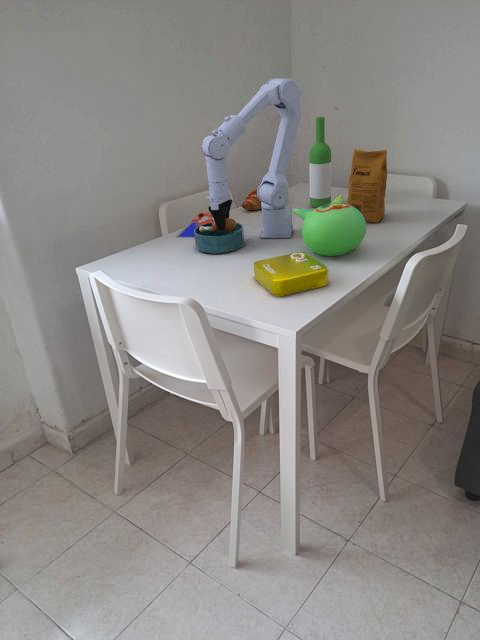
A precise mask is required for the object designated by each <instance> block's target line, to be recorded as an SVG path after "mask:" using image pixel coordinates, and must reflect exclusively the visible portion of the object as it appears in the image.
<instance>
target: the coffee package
mask: <svg viewBox="0 0 480 640" xmlns="http://www.w3.org/2000/svg"><path fill="white" fill-rule="evenodd" d="M387 154H388V152H387V149H381V150H371V151H367V150H362V149H357V148H354V149H353V155H352V160H351V167H350V175H349V181H348V193H347V203H346V204H347V205H350V206H353V207H355V208H356V209H357V210H359V211H360V212H361V214H362V215H363V217H364V219H365V222H366V224H367V223H368V224H369V223H370V224H372V223H374V224H375V223H376V224H377V223H379V222H380V221H381V220H382V219H383V218H384V217H385V212H386V206H385V199H386V192H387V179H388V168H387V167H388V162H387V161H388V159H387Z"/></svg>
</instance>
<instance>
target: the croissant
mask: <svg viewBox="0 0 480 640" xmlns="http://www.w3.org/2000/svg"><path fill="white" fill-rule="evenodd" d="M257 189H258V188H255V189H253V190H250V191H249V192H248V194H247V196H246V198H245V200H244V201H243V202H242V204H241V207H242V209H244V210H247V211H258V210H262V207H261V201H260V200H259V199H258V197H257Z"/></svg>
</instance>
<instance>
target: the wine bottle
mask: <svg viewBox="0 0 480 640" xmlns="http://www.w3.org/2000/svg"><path fill="white" fill-rule="evenodd" d="M325 120H326V119H325V116H316V117H315V143H314V144H313V145H312V146H311V147H310V149H309V152H308V153H309V155H308V157H309V159H308V161H309V163H308V166H309V169H308V170H309V172H308V173H309V205H310V206H311V207H312V208H315V209H316V208H318V207H320V206H323V205H327V204H331V203H332V150H331V148H330V145H328V144H327V143H326V141H325V140H326V139H325V138H326V137H325V134H326V133H325V130H326V129H325V122H326V121H325Z"/></svg>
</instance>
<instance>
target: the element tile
mask: <svg viewBox="0 0 480 640" xmlns="http://www.w3.org/2000/svg"><path fill="white" fill-rule="evenodd" d="M328 268H329V267H327V266H326V265H325V264H323V263H321V262H320V261H319V260H318V259H315V258H314V257H312V256H311V255H309V254H308V253H306V252H305V251H304V252H303V251H296V252H292V253H288V254H282V255H279V256H274V257H269V258H265V259H259V260H256V261H254V263H253V272H254V279H255V280H256V281H257V282H258V283H259V284H260V285H261V286H262V287H263V288H265V289H266V290H267V291H268V292H269V293H270V294H271V295H273V296H274V297H286V296H290V295H293V294H294V295H295V294H298V293H301V292H302V293H303V292H305V291H310V290H314V289H319V288H323V287H325V286H327V285H328V283H329V269H328Z"/></svg>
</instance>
